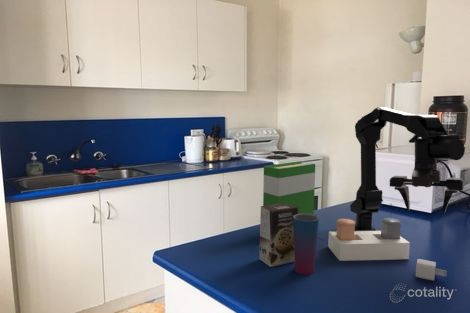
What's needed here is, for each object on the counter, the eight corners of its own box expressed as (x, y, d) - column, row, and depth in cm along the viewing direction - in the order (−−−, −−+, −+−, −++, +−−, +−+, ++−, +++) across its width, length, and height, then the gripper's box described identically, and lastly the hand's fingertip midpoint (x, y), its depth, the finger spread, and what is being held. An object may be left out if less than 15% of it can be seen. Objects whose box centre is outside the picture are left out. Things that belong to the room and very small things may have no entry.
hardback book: (298, 224, 140) (299, 161, 136) (313, 229, 134) (315, 164, 131) (262, 234, 129) (263, 166, 126) (277, 240, 123) (279, 169, 120)
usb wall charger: (416, 271, 100) (417, 257, 100) (446, 278, 97) (447, 263, 96) (415, 277, 97) (416, 263, 97) (445, 284, 94) (447, 269, 93)
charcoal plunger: (378, 235, 115) (379, 218, 115) (394, 234, 116) (395, 217, 115) (385, 241, 110) (386, 223, 110) (402, 241, 111) (403, 223, 110)
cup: (318, 267, 103) (320, 214, 101) (315, 277, 97) (317, 222, 95) (294, 263, 105) (295, 212, 103) (289, 274, 99) (290, 219, 97)
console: (328, 246, 118) (328, 231, 117) (391, 245, 119) (392, 230, 118) (339, 260, 107) (340, 244, 107) (408, 259, 109) (409, 242, 108)
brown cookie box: (270, 267, 103) (271, 211, 100) (258, 259, 108) (259, 205, 106) (297, 261, 107) (299, 207, 105) (284, 253, 113) (285, 201, 110)
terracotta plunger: (333, 236, 115) (334, 218, 114) (350, 235, 115) (351, 218, 114) (339, 242, 109) (340, 224, 109) (356, 242, 110) (357, 224, 109)
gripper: (384, 160, 106) (385, 214, 107) (461, 161, 95) (460, 221, 96) (393, 157, 115) (393, 207, 116) (464, 158, 105) (463, 213, 105)
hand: (425, 212), depth 108 cm, fingers open, 9 cm apart
